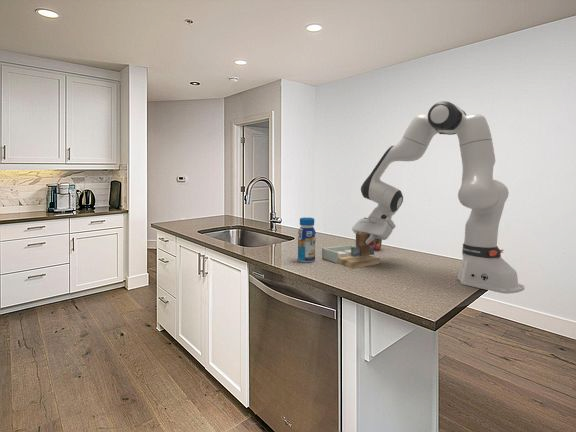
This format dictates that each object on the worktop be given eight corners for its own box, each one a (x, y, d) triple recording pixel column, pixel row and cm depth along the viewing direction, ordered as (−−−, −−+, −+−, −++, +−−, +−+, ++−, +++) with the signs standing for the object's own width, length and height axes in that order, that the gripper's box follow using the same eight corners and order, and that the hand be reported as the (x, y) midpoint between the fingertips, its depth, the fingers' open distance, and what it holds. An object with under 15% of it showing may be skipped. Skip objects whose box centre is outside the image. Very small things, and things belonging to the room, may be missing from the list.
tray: (366, 259, 176) (366, 248, 175) (336, 263, 166) (336, 252, 166) (350, 254, 185) (351, 244, 184) (322, 258, 176) (322, 248, 175)
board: (379, 263, 167) (379, 258, 166) (352, 268, 158) (352, 262, 158) (364, 259, 175) (364, 254, 175) (338, 263, 167) (338, 257, 167)
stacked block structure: (375, 254, 166) (375, 232, 165) (355, 257, 159) (355, 234, 159) (370, 253, 168) (369, 232, 168) (349, 256, 162) (349, 233, 162)
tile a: (358, 257, 175) (358, 251, 175) (348, 258, 174) (348, 252, 174) (353, 255, 180) (353, 249, 180) (344, 256, 179) (344, 250, 178)
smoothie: (382, 251, 192) (384, 213, 190) (366, 250, 194) (367, 213, 192) (382, 248, 200) (383, 212, 198) (366, 247, 202) (367, 211, 200)
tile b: (347, 259, 172) (347, 253, 172) (339, 260, 169) (339, 254, 169) (340, 257, 176) (340, 251, 176) (332, 258, 174) (332, 252, 173)
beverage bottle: (299, 258, 176) (299, 216, 174) (316, 259, 174) (317, 217, 172) (295, 262, 168) (296, 219, 166) (314, 263, 166) (314, 219, 164)
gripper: (359, 212, 175) (343, 234, 171) (391, 217, 157) (374, 241, 153) (366, 221, 178) (350, 243, 174) (398, 226, 160) (381, 251, 156)
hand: (361, 242), depth 163 cm, fingers closed on stacked block structure, 4 cm apart
